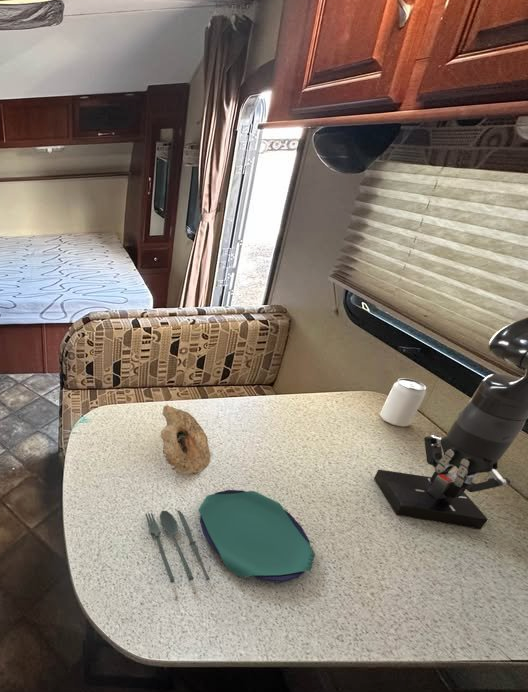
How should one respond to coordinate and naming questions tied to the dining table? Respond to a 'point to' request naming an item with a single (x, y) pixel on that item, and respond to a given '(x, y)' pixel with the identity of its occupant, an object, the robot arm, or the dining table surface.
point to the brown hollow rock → (184, 441)
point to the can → (403, 402)
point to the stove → (426, 500)
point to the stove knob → (441, 485)
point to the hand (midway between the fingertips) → (442, 490)
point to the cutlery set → (245, 536)
